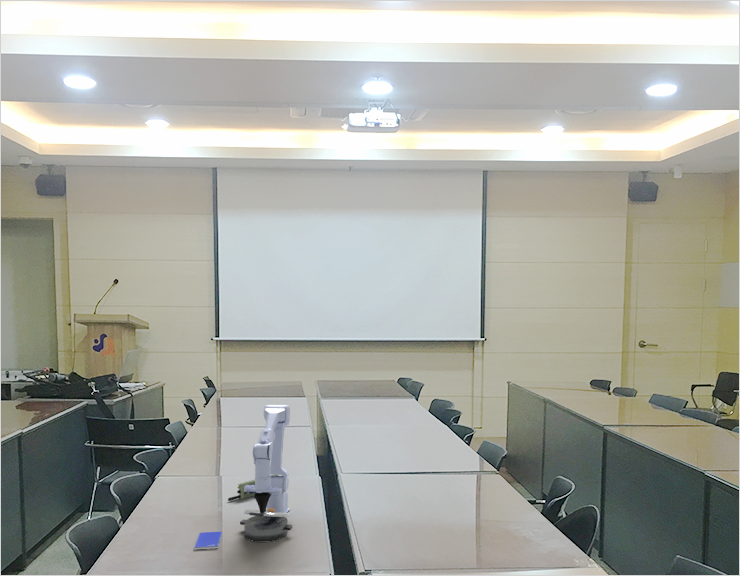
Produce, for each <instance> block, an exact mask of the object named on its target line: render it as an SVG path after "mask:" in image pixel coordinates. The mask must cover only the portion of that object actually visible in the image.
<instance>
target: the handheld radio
mask: <svg viewBox="0 0 740 576" xmlns="http://www.w3.org/2000/svg"><path fill="white" fill-rule="evenodd" d="M271 476H279V475H273V474H271ZM236 485H237V489H238V490H237V491H236V492H237V494H238V495H235V496H231V497H228V499H227V501H228V502H230V501H231V502H232V501H235V500H237V499H240V500H244V499H248V498H251V496H252V497H254V495H255V492H250V491H247V492H244V486H246V485H255V479H251V480H248V481H244V482H240V483H237V484H236Z"/></svg>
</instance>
